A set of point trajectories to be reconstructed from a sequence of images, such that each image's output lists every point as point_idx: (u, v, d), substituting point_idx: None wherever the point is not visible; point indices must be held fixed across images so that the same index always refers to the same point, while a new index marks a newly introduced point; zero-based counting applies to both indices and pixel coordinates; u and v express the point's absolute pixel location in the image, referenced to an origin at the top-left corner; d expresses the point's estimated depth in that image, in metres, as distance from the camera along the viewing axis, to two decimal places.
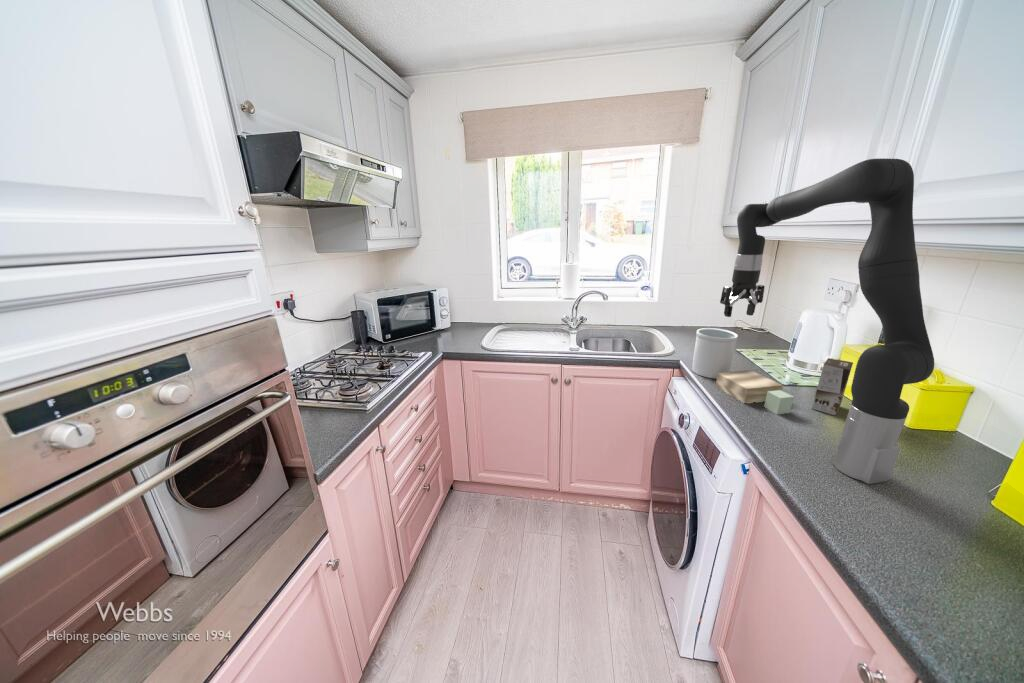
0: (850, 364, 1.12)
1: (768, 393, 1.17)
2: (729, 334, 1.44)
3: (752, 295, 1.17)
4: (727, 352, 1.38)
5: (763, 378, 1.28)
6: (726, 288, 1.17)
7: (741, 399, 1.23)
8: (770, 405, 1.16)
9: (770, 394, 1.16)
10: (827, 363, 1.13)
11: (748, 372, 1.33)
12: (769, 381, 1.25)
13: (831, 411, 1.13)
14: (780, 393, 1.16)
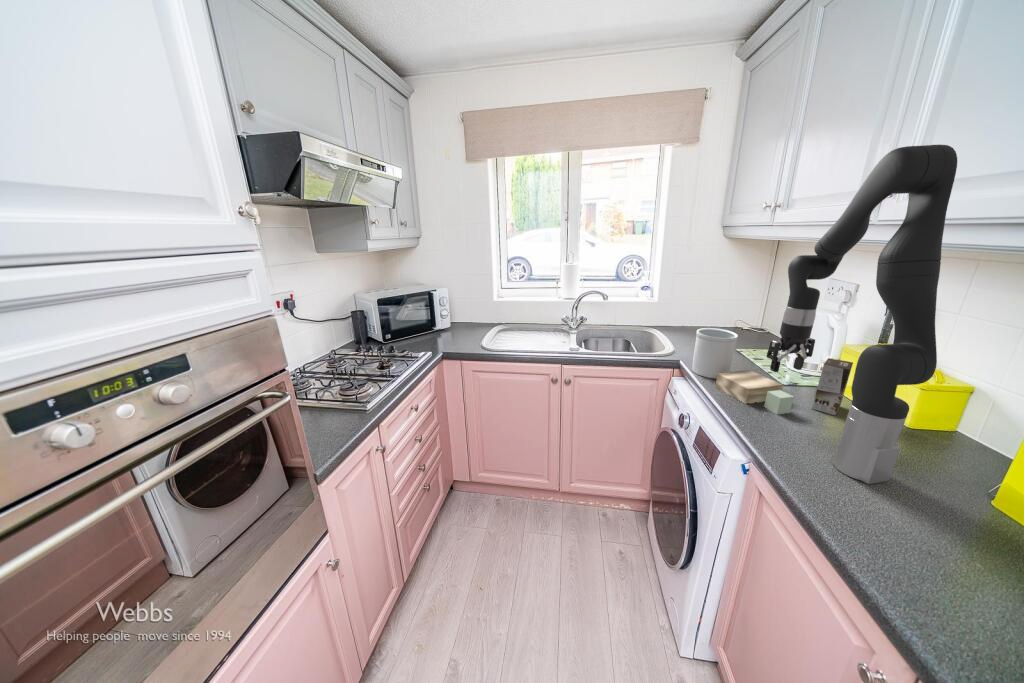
0: (850, 364, 1.12)
1: (768, 393, 1.17)
2: (729, 334, 1.44)
3: (802, 350, 1.09)
4: (727, 352, 1.38)
5: (762, 377, 1.28)
6: (774, 343, 1.08)
7: (742, 399, 1.22)
8: (770, 405, 1.16)
9: (770, 394, 1.16)
10: (827, 363, 1.13)
11: (747, 372, 1.33)
12: (769, 381, 1.25)
13: (831, 411, 1.13)
14: (780, 393, 1.16)
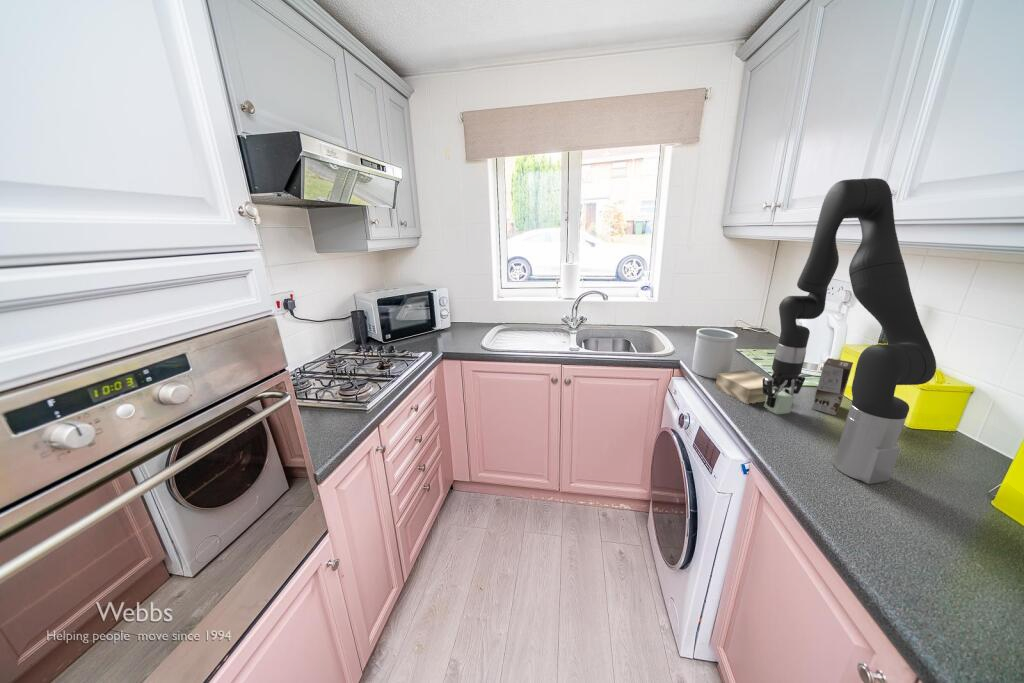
0: (850, 364, 1.12)
1: None
2: (729, 334, 1.44)
3: (792, 385, 1.13)
4: (727, 352, 1.38)
5: (762, 377, 1.28)
6: (766, 381, 1.12)
7: (743, 400, 1.22)
8: None
9: None
10: (827, 363, 1.13)
11: (747, 372, 1.33)
12: None
13: (831, 411, 1.13)
14: (780, 393, 1.16)
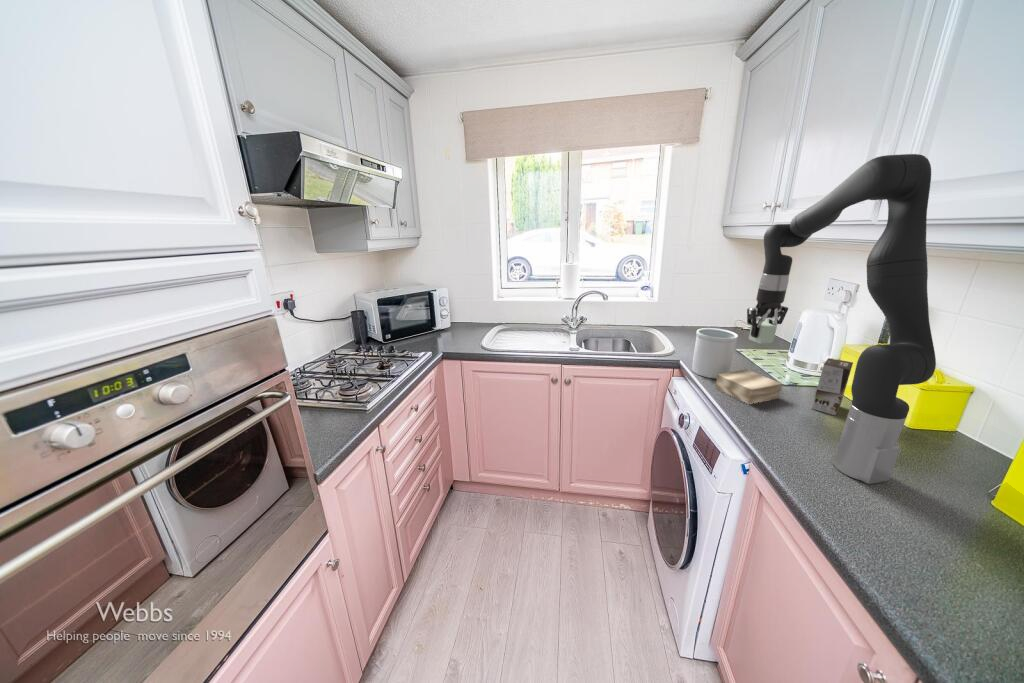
0: (850, 364, 1.12)
1: None
2: (729, 334, 1.44)
3: (775, 315, 1.17)
4: (727, 352, 1.38)
5: (761, 377, 1.28)
6: (750, 311, 1.16)
7: (745, 400, 1.22)
8: None
9: None
10: (827, 363, 1.13)
11: (745, 372, 1.33)
12: (769, 380, 1.25)
13: (831, 411, 1.13)
14: (764, 323, 1.20)
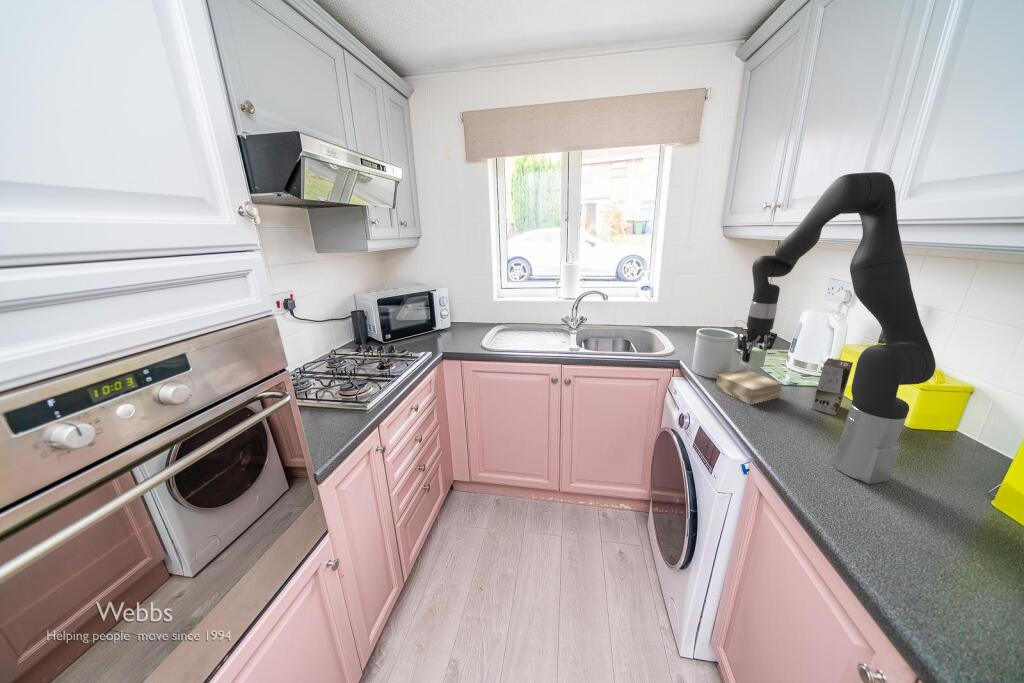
0: (850, 364, 1.12)
1: None
2: (729, 334, 1.44)
3: (765, 341, 1.21)
4: (727, 352, 1.38)
5: (761, 377, 1.29)
6: (741, 337, 1.21)
7: (746, 400, 1.22)
8: None
9: None
10: (827, 363, 1.13)
11: (745, 372, 1.33)
12: (768, 380, 1.26)
13: (831, 411, 1.13)
14: (754, 349, 1.24)
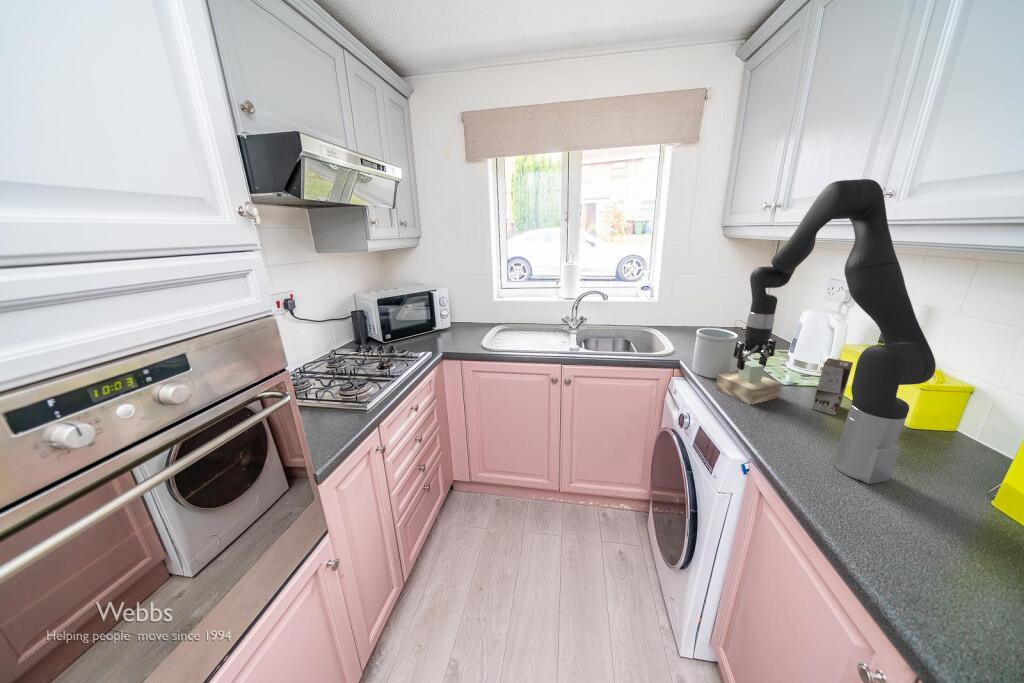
0: (850, 364, 1.12)
1: None
2: (729, 334, 1.44)
3: (764, 350, 1.23)
4: (727, 352, 1.38)
5: None
6: (739, 344, 1.22)
7: (747, 400, 1.22)
8: (743, 374, 1.27)
9: None
10: (827, 363, 1.13)
11: None
12: (768, 380, 1.26)
13: (831, 411, 1.13)
14: (752, 363, 1.26)
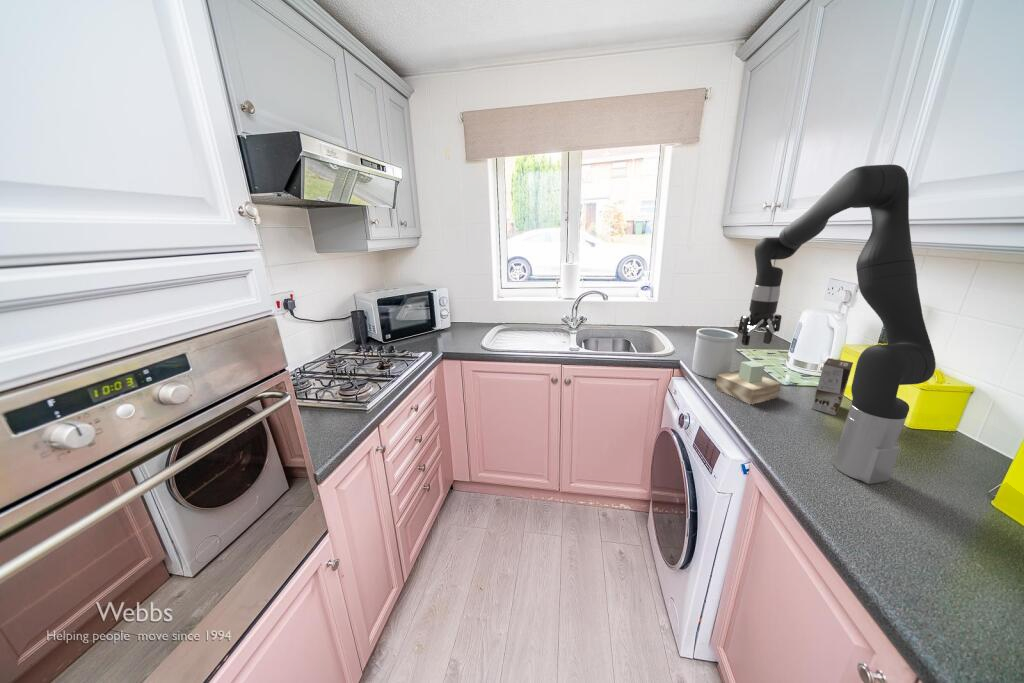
0: (850, 364, 1.12)
1: (742, 363, 1.27)
2: (729, 334, 1.44)
3: (769, 324, 1.20)
4: (727, 352, 1.38)
5: None
6: (744, 318, 1.19)
7: (746, 400, 1.22)
8: (743, 374, 1.27)
9: (743, 364, 1.26)
10: (827, 363, 1.13)
11: None
12: (768, 380, 1.26)
13: (831, 411, 1.13)
14: (752, 363, 1.26)
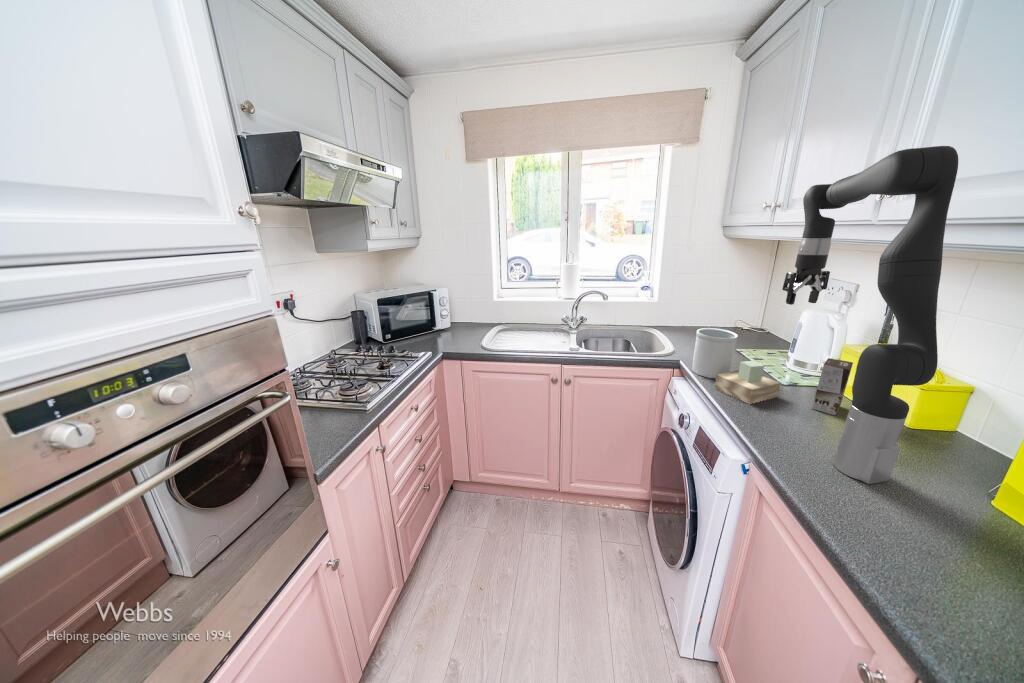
0: (850, 364, 1.12)
1: (741, 363, 1.27)
2: (729, 334, 1.44)
3: (817, 281, 1.12)
4: (727, 352, 1.38)
5: None
6: (790, 274, 1.11)
7: (746, 400, 1.22)
8: (743, 374, 1.27)
9: (743, 364, 1.27)
10: (827, 363, 1.13)
11: None
12: (767, 380, 1.26)
13: (831, 411, 1.13)
14: (752, 363, 1.26)
